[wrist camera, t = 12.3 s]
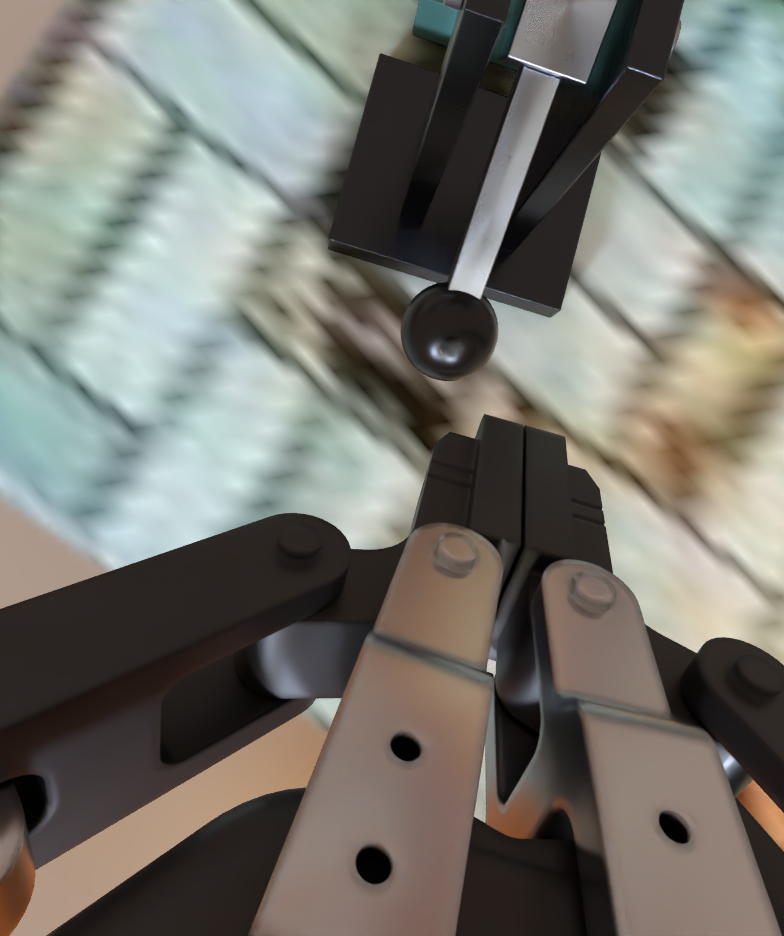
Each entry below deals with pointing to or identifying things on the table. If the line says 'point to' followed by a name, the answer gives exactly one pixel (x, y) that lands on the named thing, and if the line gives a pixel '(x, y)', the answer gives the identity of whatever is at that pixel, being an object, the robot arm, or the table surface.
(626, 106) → the bracket
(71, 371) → the table surface
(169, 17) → the table surface
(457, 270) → the lever
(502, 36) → the button box
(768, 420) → the table surface
